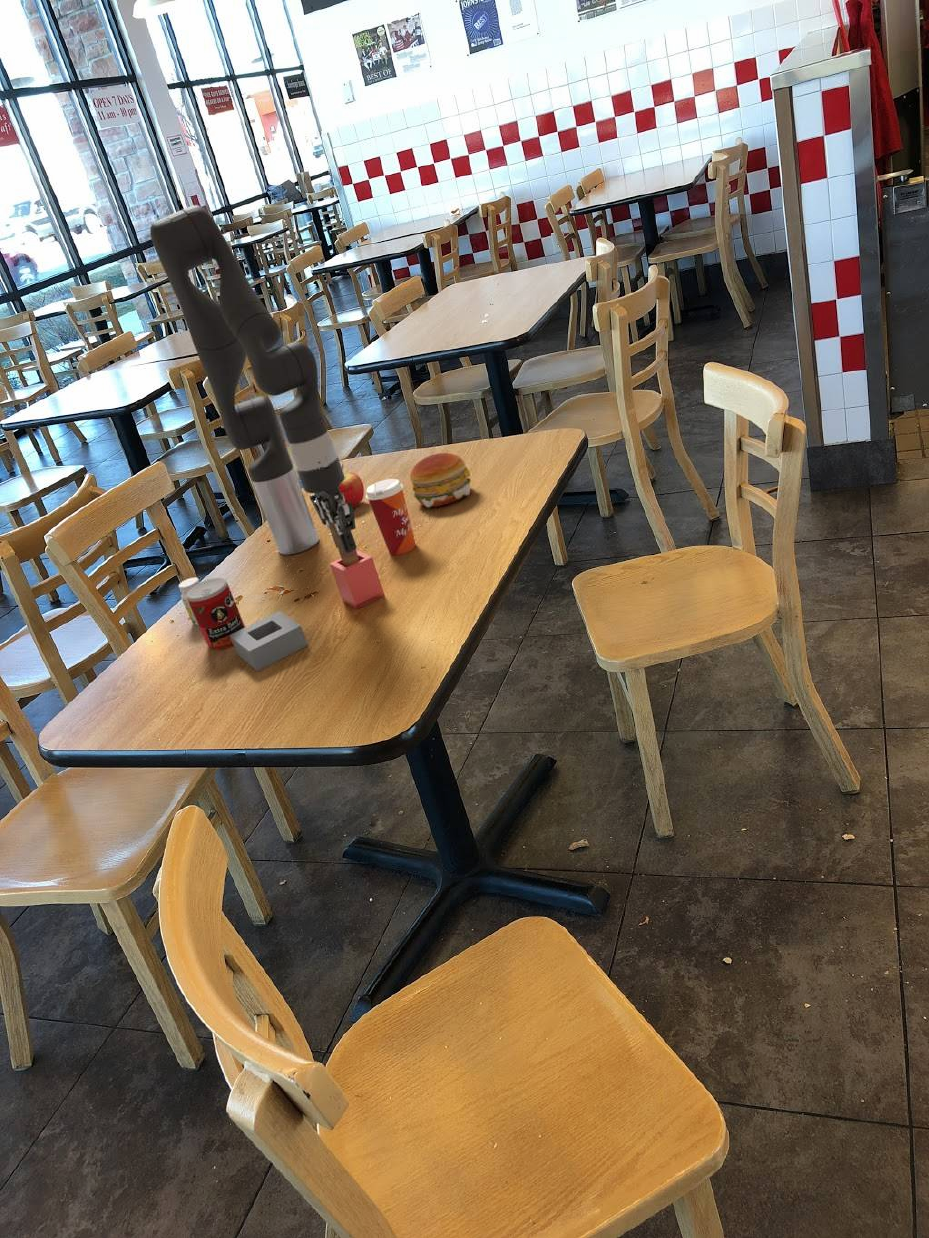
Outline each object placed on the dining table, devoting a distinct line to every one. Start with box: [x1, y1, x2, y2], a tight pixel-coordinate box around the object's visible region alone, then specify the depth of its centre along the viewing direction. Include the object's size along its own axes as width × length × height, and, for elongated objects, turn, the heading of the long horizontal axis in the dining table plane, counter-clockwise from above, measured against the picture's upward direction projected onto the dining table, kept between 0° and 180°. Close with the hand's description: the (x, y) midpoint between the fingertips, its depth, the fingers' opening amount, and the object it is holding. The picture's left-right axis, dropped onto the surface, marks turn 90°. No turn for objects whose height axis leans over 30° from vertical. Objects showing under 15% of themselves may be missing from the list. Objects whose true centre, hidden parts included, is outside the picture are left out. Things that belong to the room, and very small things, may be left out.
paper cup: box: [365, 478, 416, 556], centre depth 199 cm, size 8×8×14 cm
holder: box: [230, 610, 309, 672], centre depth 175 cm, size 10×10×4 cm
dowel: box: [328, 515, 360, 567], centre depth 181 cm, size 3×3×15 cm
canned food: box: [186, 577, 246, 650], centre depth 182 cm, size 8×8×11 cm
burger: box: [409, 452, 471, 508], centre depth 219 cm, size 14×14×10 cm
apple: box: [339, 463, 365, 509], centre depth 231 cm, size 8×8×10 cm
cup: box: [329, 549, 386, 610], centre depth 183 cm, size 6×6×8 cm
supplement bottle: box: [178, 577, 201, 626], centre depth 194 cm, size 5×5×8 cm
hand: (346, 548), depth 180 cm, fingers closed on dowel, 3 cm apart
